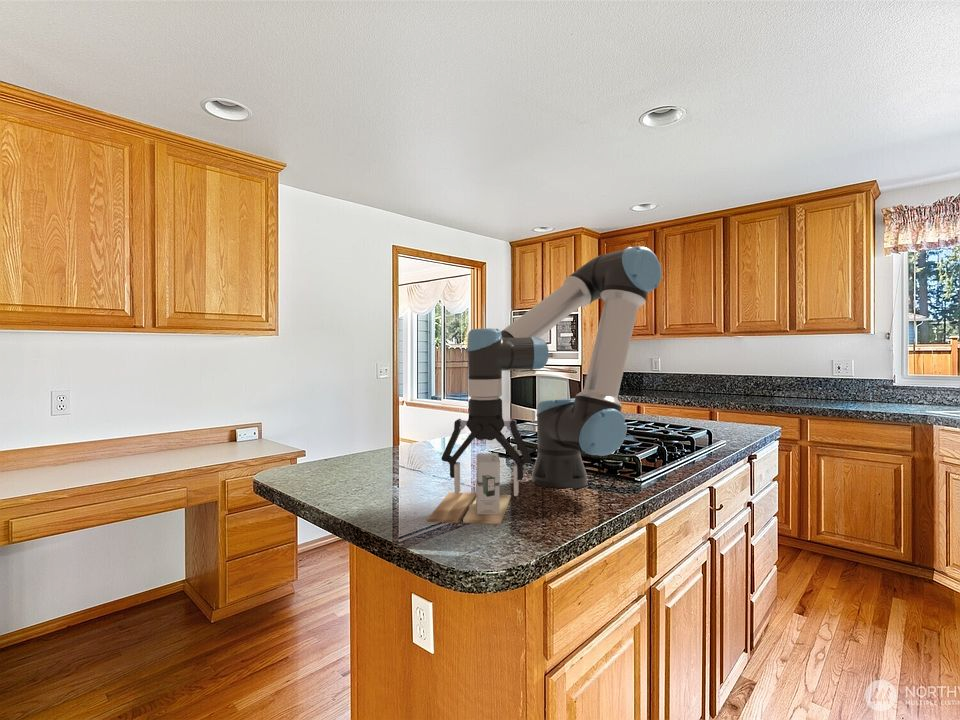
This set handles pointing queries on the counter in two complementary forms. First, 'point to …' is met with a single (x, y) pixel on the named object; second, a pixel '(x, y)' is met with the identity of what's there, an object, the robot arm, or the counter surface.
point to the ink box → (488, 484)
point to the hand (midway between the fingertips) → (486, 493)
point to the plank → (491, 519)
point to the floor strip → (452, 508)
